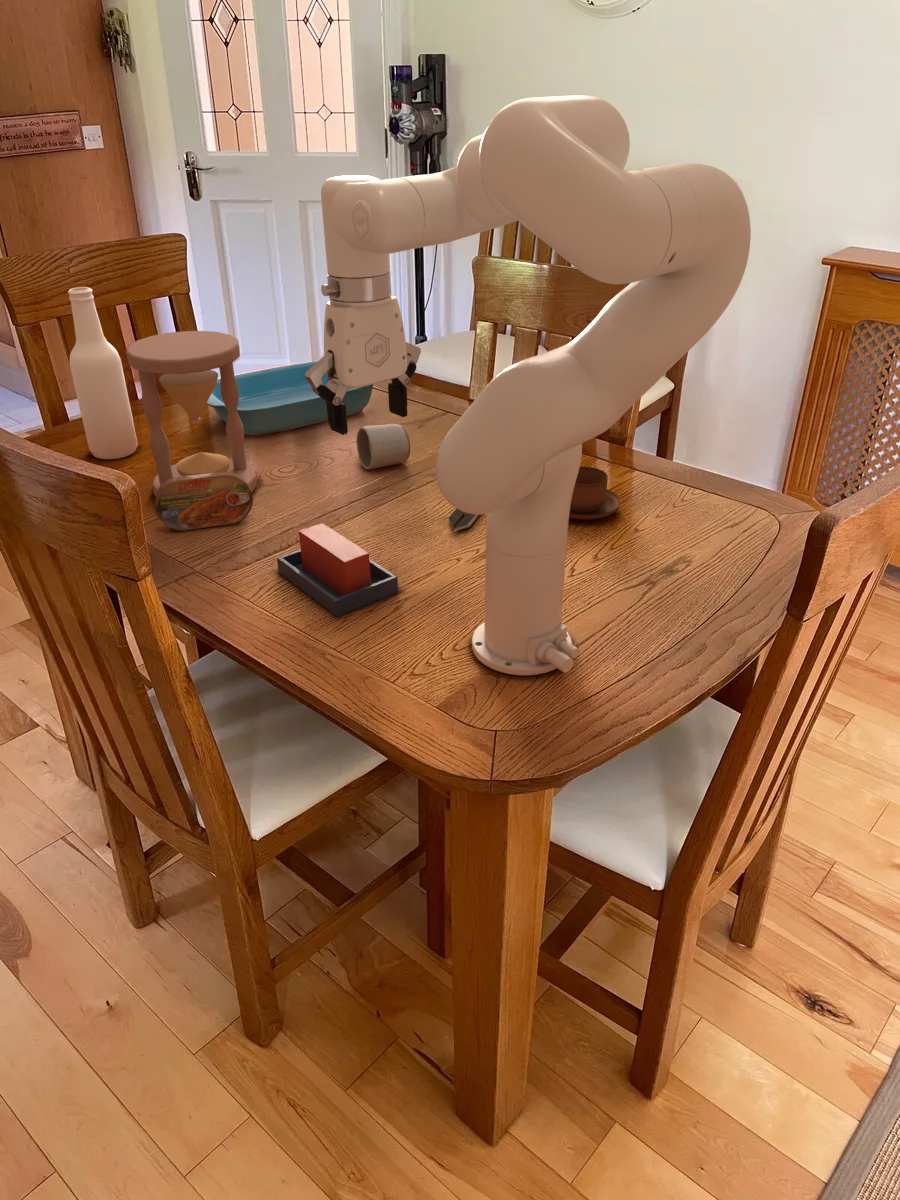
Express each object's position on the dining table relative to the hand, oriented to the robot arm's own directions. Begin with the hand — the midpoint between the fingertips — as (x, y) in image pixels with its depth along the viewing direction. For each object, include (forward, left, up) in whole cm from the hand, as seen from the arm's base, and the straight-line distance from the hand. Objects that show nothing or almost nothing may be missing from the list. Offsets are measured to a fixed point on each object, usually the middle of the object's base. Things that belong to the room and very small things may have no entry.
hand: (369, 422), depth 117 cm
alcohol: (+71, +12, -23) cm, 75 cm away
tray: (+2, +6, -23) cm, 24 cm away
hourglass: (+44, +6, -23) cm, 50 cm away
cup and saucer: (-4, -38, -23) cm, 45 cm away
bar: (+2, +6, -22) cm, 23 cm away
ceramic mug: (+34, -24, -23) cm, 47 cm away
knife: (+9, -27, -23) cm, 37 cm away
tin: (+31, +12, -23) cm, 40 cm away
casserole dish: (+67, -25, -23) cm, 75 cm away
